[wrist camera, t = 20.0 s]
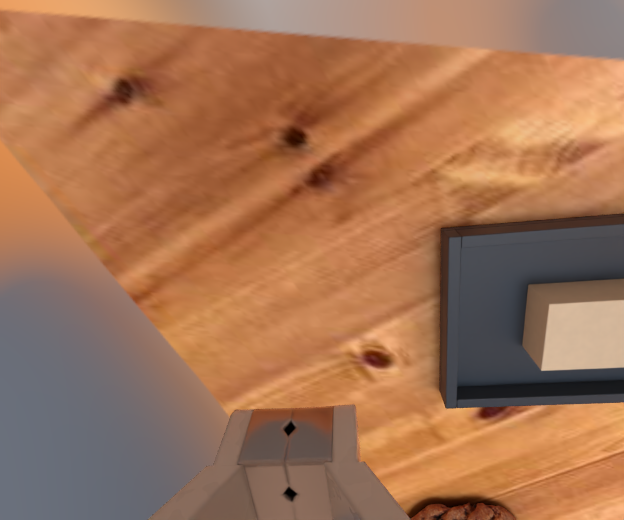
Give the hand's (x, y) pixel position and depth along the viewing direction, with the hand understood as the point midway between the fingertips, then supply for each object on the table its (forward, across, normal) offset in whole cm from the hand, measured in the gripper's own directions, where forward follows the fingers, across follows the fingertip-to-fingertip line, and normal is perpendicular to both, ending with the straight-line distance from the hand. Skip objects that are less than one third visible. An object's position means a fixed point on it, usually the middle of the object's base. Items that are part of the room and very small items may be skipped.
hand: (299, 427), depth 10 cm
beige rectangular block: (+18, -17, +9) cm, 26 cm away
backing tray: (+19, -19, +9) cm, 28 cm away
